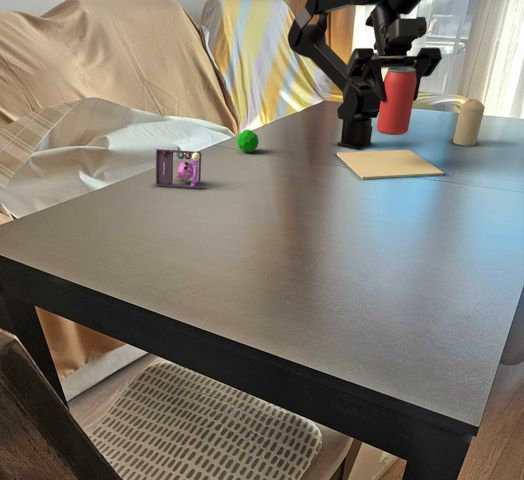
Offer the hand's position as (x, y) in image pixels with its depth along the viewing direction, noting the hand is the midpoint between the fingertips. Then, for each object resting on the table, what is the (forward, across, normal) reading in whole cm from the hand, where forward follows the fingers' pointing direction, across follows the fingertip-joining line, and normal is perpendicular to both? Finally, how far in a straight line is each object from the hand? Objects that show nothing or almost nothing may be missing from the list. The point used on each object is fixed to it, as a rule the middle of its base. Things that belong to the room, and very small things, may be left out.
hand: (399, 100), depth 104 cm
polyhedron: (-1, -29, +21) cm, 36 cm away
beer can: (+4, 0, +6) cm, 7 cm away
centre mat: (+9, 0, +10) cm, 13 cm away
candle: (-1, +26, +20) cm, 33 cm away
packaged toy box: (+13, -46, +6) cm, 48 cm away
